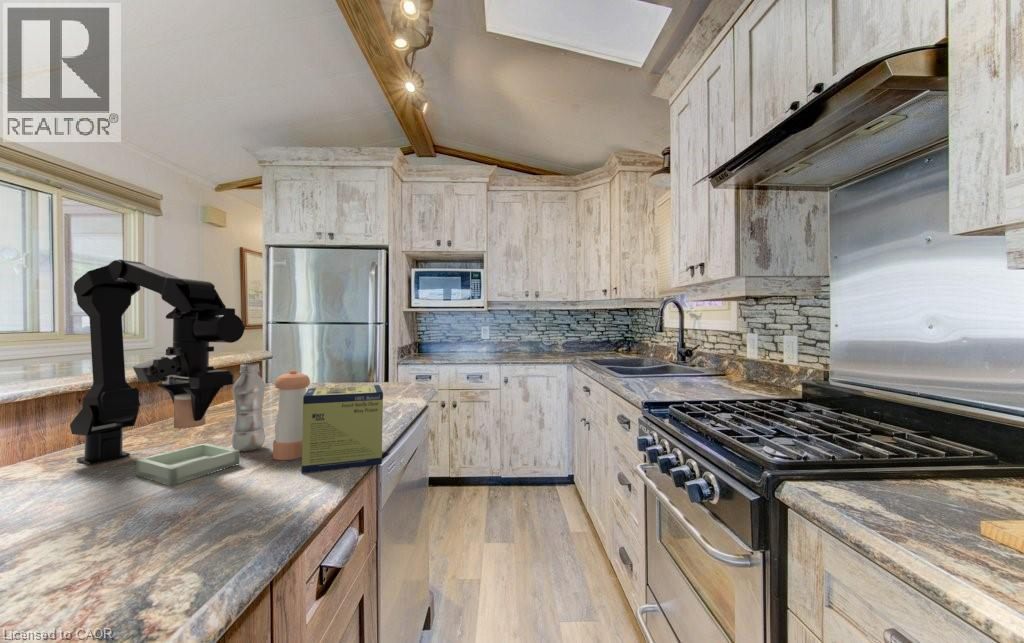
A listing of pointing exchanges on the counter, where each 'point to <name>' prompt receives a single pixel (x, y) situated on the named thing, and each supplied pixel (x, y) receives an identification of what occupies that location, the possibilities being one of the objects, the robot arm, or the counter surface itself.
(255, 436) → the plastic bottle
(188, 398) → the spice pot
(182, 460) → the tray
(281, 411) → the pepper shaker
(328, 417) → the protein box
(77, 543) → the counter surface
